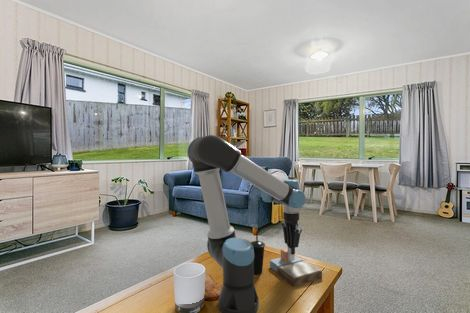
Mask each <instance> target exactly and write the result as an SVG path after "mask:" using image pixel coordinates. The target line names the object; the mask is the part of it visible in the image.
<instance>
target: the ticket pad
mask: <svg viewBox="0 0 470 313" xmlns="http://www.w3.org/2000/svg"><path fill="white" fill-rule="evenodd" d="M302 260H303V261H299V262H295V263H291V264H286V265H282V266H279V267H278V273H277V275H278V276H279V277H281V278H282V279H283V280H285V281H286V282H288V283H289V284H290V285H291V286H293V287H297V286H300V285H303V284H308V283H311V282H313V281H317V280H321V278H322V279H323V271H322V270H321V269H319V268H317V267H316V266H314V265H312V264H310V263H309V262H308V261H306V260H305V259H302Z"/></svg>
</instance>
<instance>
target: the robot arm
mask: <svg viewBox="0 0 470 313" xmlns="http://www.w3.org/2000/svg"><path fill="white" fill-rule="evenodd" d="M187 147H188V148H187V150H186V151H187V157H188V160H189V161H190V162H191V165H192V169H193V173H194V174H196V175H197V176H198V180H199V184H200V188H201V189H200V190H201V194H202V198H203V203H204V207H205V212H206V217H207V223H208V228H209V231H208V232H207V234H206V235H207V243H206V247H207V248H206V249H207V251H208V254H209V255H210V257H211V258H212V259H213V260H214V261H215V262H216V263H217V264H218V265H219V266H220V268H222V286H221V289H220V293H219V296H218V299H217V300H218V309H219V311H220V312H221V313H257V311H258V310H259V306H260V303H259V301H260V300H259V299H260V298H259V296H258V293H257V291H256V287H255V274H254V248H253V245H252V244H251V243H250V242H251V241H249V240H247V239H246V238H242V237H237V236H236V231H235V228H234V226H232V225H231V224H230V221H229V215H228V209H227V206H226V200H225V195H224V190H223V185H222V180H221V174H220V170H222V171H223V172H225V173H232V174H234V175H236V176H237V177H239V178H240V179H242V180H244V181H245V182H247V183H249V184H250V185H251V186H254V187H256V188H258V189H259V190H260V196H261V199H262V201H263V202H265V203H272V202H273V203H277V204H280V205H283V206H282V207H283V208H282V210H283V216H282V218H283V220H284V222H282V223H281V227H282V233H283V239H284V244H285V245H286V246H287V248H288V260H289V261H293V260H295V256H296V248H299V244H300V238H301V233H302V231H303V230H302V228H300V227H299V224H298V222H299V220H300V209H301V208H302V207H304V206H305V203H306V201H307V200H306V194H305V192H304V191H302V190H300V182H299V180H297V179H284V180H283V181H282V180H281V179H279V178H278V177H277V176H275V175H273V174H272V173H270V172H269V171H267V170H266V169H264V168H263V167H261V166H259V165H258V164H256V163H255V162H253V161H252V160H250V159H249V158H247V157H246V156H244V155H243V154H242V152H241V150H240V149H238V148H237V147H235V146H234V145H232V144H231V143H229V142H228V141H227V140H225V139H224V138H221V137H220V136H217V135H213V134H212V135H211V134H210V135H209V134H208V135H204V136H199V137H196V138H194V139H193V140H192V141H191V142H190V143H189V145H188V146H187Z"/></svg>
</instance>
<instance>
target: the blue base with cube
mask: <svg viewBox="0 0 470 313" xmlns="http://www.w3.org/2000/svg"><path fill="white" fill-rule="evenodd" d="M303 260H304V259H302V258H300V257H298V256H297V255H295V260H293V261H289V260H288V247H285V248H280V257H278V258H272V259H270V260H269V267H270V268H271V269H272V270H273V271H275V272H276V273H277V274H278V267H279V266H282V265H286V264H291V263H295V262H299V261H303Z"/></svg>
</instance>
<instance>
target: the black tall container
mask: <svg viewBox="0 0 470 313" xmlns="http://www.w3.org/2000/svg"><path fill="white" fill-rule="evenodd" d="M255 233H256V234H255V235H256V236H255V240H253V241H249V242H250V243H251V244H252V245H253V248H254V276H255V275H258V276H259V275H262V274H263V268H264V267H263V265H264V255H265V247H266V244H265V243H264V242H263V241H260V240H258V237H259V235H258V234H259V231H258V230H256V231H255Z"/></svg>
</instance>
